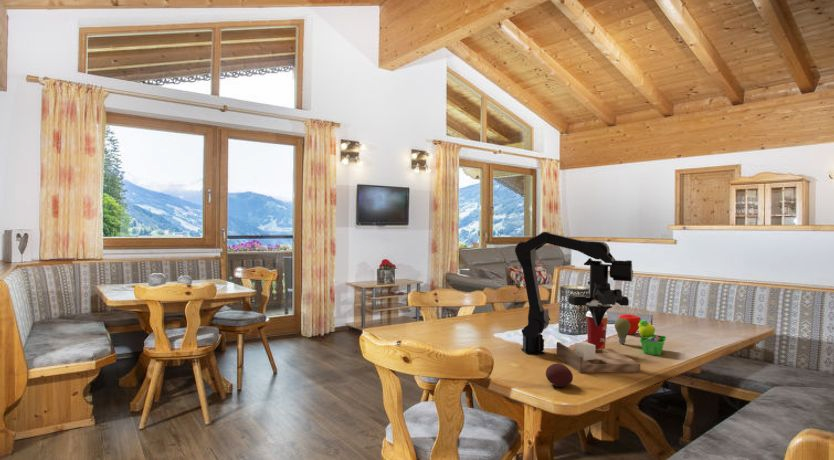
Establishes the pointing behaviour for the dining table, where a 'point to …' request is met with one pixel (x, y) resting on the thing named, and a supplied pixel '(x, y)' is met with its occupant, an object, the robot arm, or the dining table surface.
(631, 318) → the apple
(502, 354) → the dining table surface
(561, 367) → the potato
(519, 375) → the dining table surface
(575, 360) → the trap board
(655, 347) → the fruit basket
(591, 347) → the block
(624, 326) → the light bulb
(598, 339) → the paper cup
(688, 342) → the dining table surface
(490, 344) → the dining table surface
